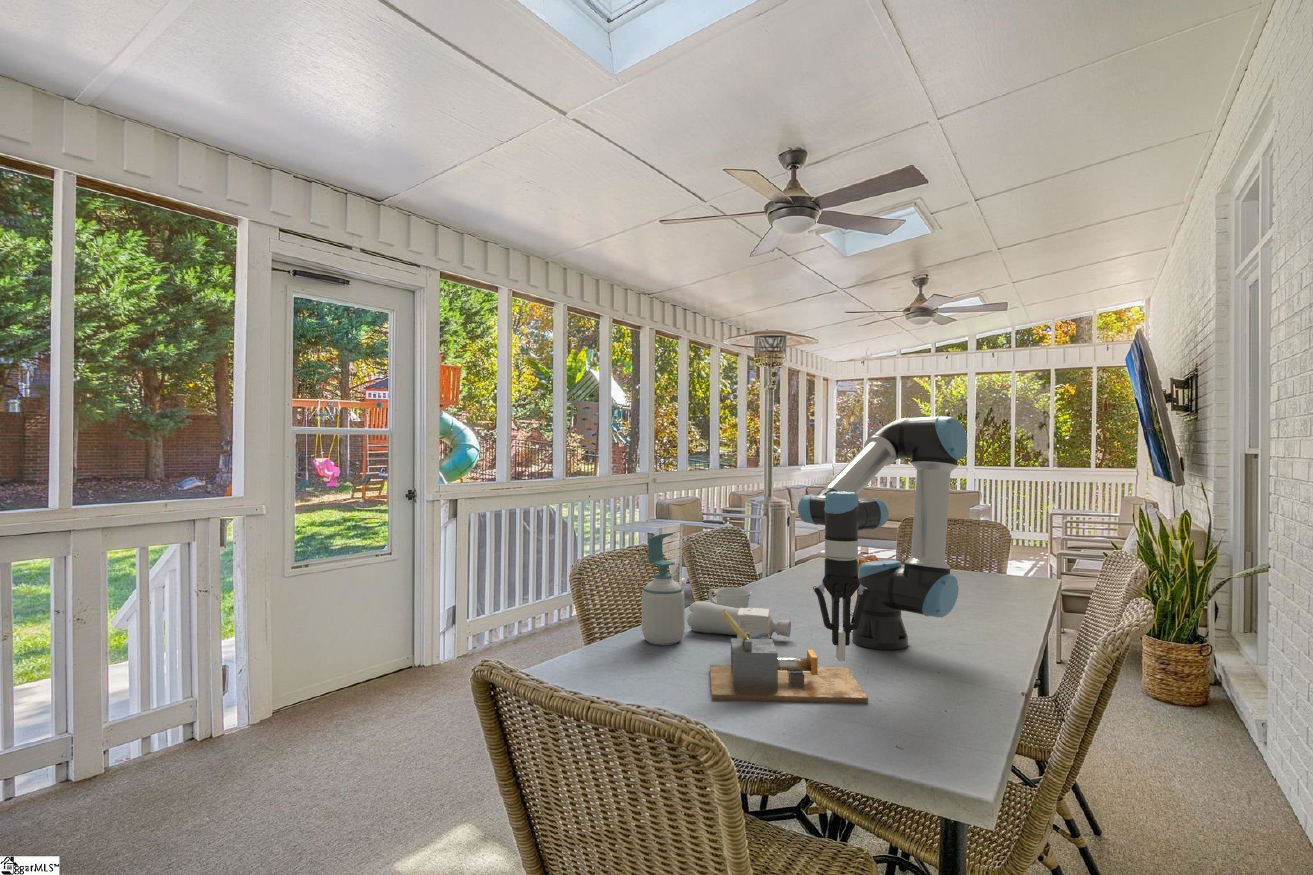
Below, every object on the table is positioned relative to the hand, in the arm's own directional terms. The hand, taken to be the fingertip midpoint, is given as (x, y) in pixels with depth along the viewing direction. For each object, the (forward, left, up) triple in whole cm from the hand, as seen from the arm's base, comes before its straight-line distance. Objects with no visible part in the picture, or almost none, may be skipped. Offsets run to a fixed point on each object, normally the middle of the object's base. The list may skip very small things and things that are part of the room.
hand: (840, 659), depth 156 cm
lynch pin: (+13, 0, -3) cm, 13 cm away
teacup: (+23, -56, -7) cm, 61 cm away
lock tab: (+25, 0, +7) cm, 26 cm away
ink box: (+18, -23, -7) cm, 30 cm away
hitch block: (+13, 0, -7) cm, 15 cm away
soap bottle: (+43, -34, -7) cm, 56 cm away
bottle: (+21, -41, -7) cm, 46 cm away
